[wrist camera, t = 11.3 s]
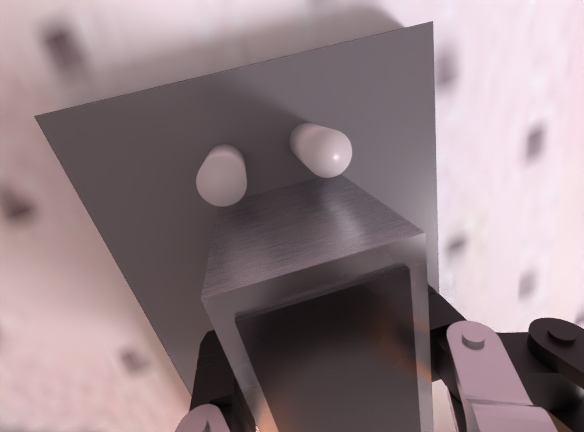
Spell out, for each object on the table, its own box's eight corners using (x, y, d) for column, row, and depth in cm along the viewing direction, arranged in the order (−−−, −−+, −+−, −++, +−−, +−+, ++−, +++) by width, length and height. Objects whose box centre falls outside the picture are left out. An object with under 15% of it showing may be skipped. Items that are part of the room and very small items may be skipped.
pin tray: (409, 30, 12) (504, -9, 8) (425, 344, 19) (478, 412, 15) (60, 114, 11) (-53, 121, 6) (217, 413, 18) (211, 507, 14)
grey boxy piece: (337, 171, 12) (430, 235, 6) (363, 331, 15) (437, 465, 10) (218, 204, 11) (199, 304, 6) (274, 360, 15) (295, 516, 9)
